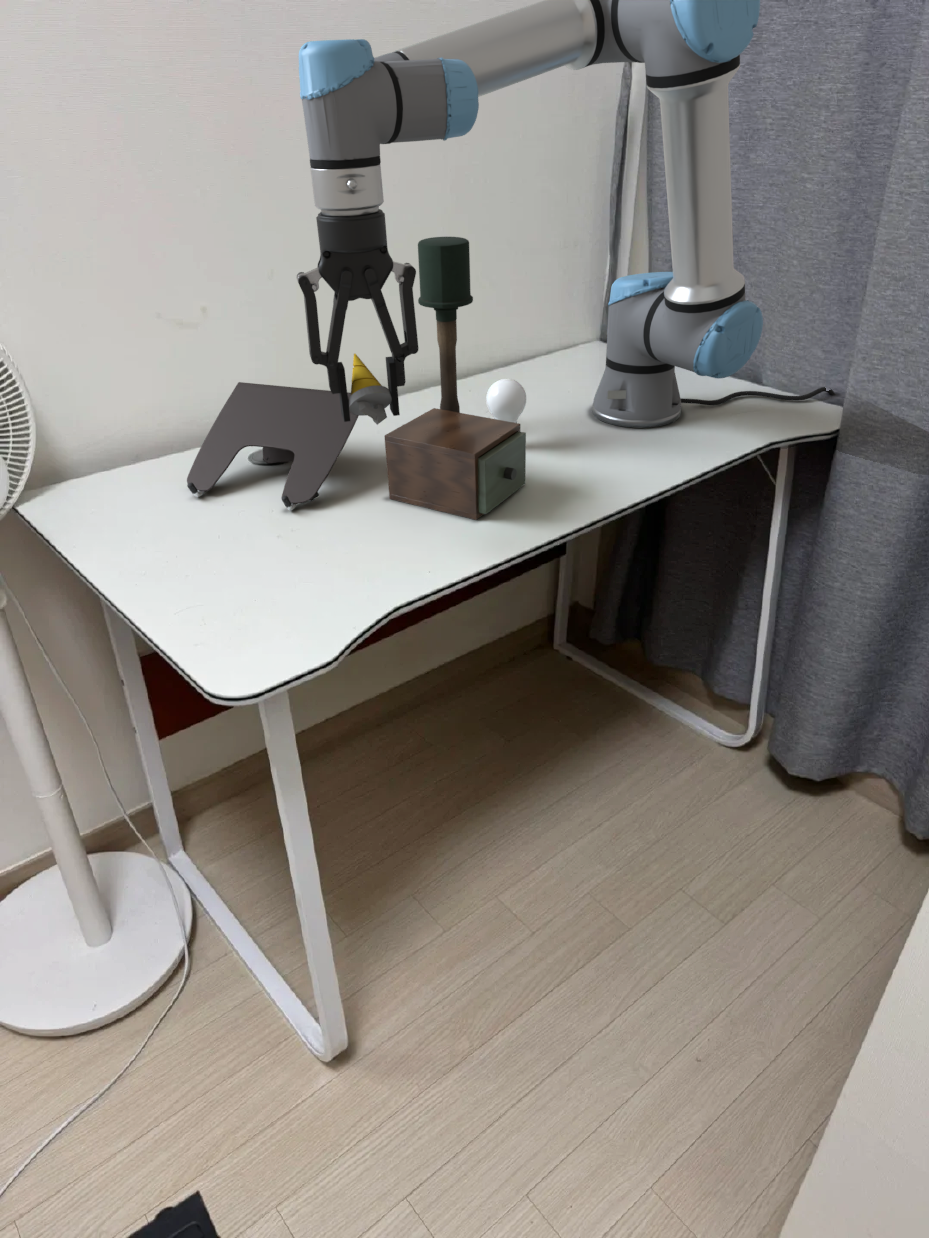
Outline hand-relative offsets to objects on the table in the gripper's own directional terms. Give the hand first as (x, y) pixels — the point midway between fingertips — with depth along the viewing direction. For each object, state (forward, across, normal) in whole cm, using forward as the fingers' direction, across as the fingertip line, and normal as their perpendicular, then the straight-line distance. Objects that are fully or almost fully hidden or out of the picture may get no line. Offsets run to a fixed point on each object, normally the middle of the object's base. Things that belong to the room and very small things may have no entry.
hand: (370, 414), depth 106 cm
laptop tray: (+16, -13, +22) cm, 30 cm away
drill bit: (+1, -1, 0) cm, 1 cm away
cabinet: (+16, +12, +9) cm, 22 cm away
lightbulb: (+17, +24, +24) cm, 38 cm away
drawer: (+15, +14, +7) cm, 22 cm away
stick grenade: (+17, +17, +34) cm, 42 cm away
